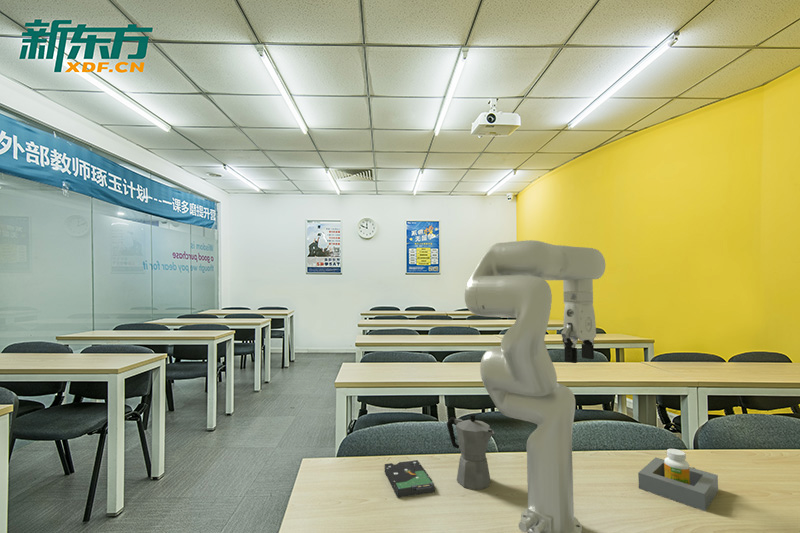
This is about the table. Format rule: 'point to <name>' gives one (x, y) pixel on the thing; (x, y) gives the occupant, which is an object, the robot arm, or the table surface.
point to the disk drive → (409, 479)
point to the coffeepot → (471, 451)
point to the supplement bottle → (677, 466)
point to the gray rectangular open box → (679, 485)
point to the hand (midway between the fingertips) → (579, 360)
